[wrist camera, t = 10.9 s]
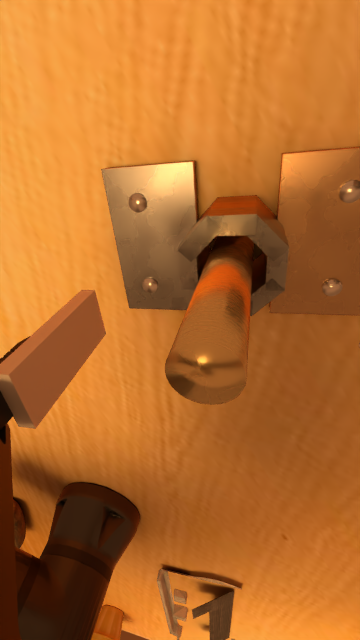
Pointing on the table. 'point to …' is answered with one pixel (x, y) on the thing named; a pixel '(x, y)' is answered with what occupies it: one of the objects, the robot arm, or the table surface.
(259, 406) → the table surface
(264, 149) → the table surface
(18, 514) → the stone weight
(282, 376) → the table surface
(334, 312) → the hinge
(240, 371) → the hinge pin
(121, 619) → the plant pot
